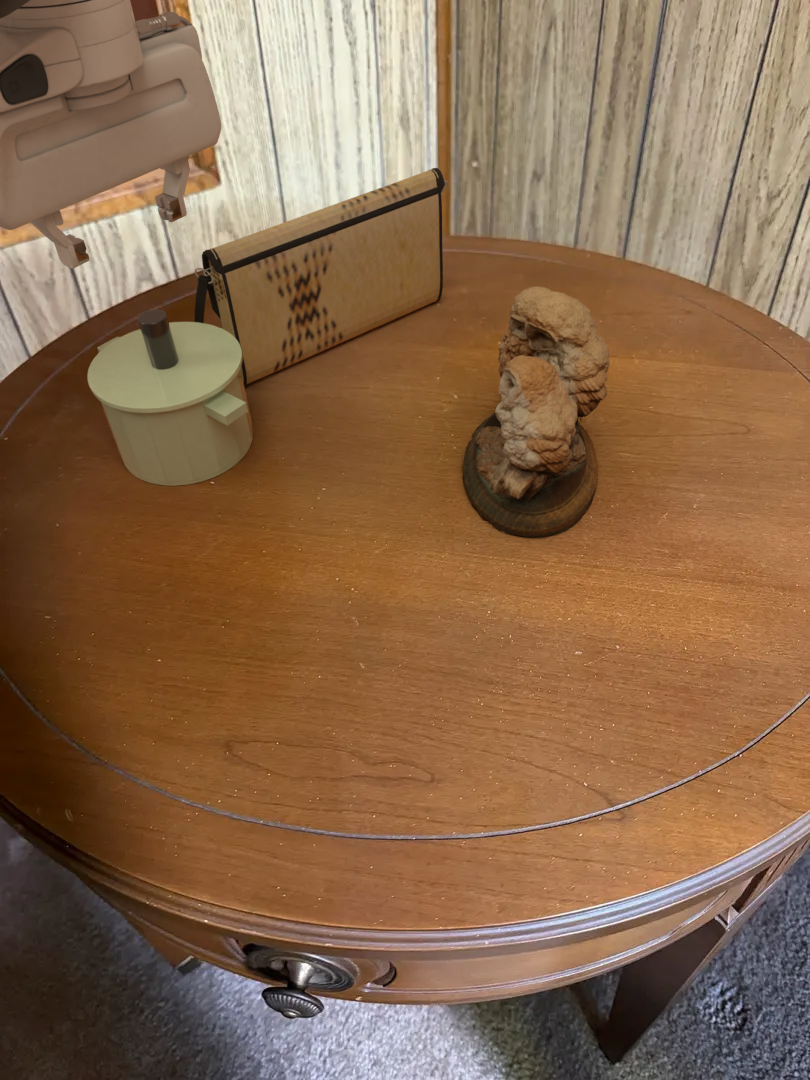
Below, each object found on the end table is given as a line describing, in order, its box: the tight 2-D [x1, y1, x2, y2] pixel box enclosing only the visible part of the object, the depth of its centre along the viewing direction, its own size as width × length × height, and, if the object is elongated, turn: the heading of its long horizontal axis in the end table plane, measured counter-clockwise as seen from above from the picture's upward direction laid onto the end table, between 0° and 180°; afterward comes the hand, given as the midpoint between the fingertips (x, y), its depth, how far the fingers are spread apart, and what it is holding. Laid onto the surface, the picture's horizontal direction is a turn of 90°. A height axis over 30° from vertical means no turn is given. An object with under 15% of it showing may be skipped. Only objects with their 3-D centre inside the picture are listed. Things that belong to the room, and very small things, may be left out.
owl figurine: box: [462, 285, 611, 538], centre depth 70 cm, size 18×12×17 cm, turn 176°
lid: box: [86, 309, 243, 413], centre depth 73 cm, size 13×13×6 cm
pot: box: [96, 336, 254, 487], centre depth 78 cm, size 12×18×8 cm
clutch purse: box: [193, 167, 449, 388], centre depth 88 cm, size 30×7×15 cm, turn 127°
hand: (126, 239), depth 66 cm, fingers open, 8 cm apart
